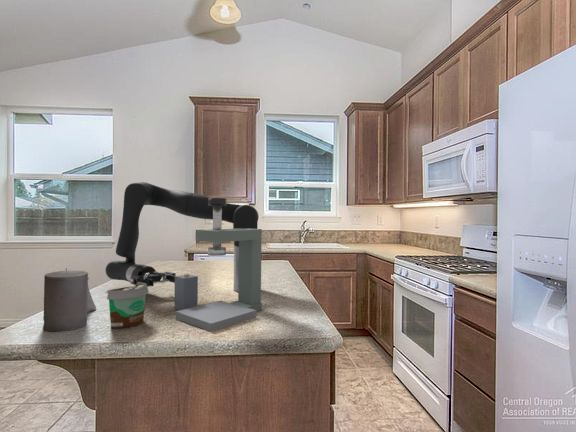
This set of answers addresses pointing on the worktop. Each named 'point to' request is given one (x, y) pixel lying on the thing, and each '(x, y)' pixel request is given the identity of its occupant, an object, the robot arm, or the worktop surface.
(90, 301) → the flask
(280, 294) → the worktop surface
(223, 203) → the press ram
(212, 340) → the worktop surface
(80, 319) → the pillar candle
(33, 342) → the worktop surface
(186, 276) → the block
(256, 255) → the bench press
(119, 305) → the food container
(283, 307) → the worktop surface
